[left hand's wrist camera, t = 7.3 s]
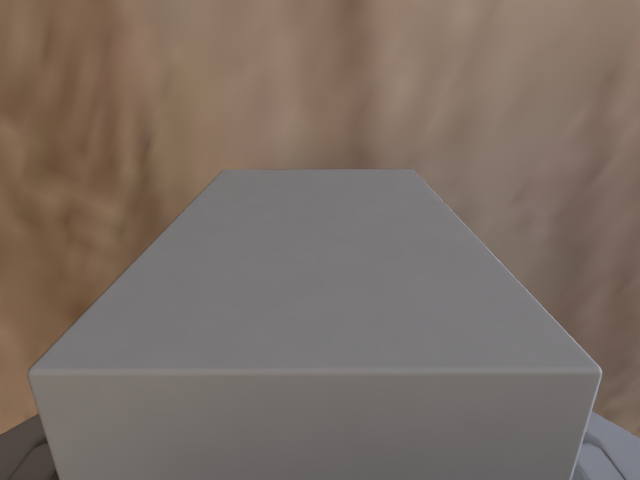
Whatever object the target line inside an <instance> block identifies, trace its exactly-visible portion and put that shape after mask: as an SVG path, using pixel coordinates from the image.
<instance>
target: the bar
mask: <svg viewBox="0 0 640 480" xmlns="http://www.w3.org/2000/svg"><path fill="white" fill-rule="evenodd" d="M27 377H28V380H29V384H30V387H31V390H32V393H33V396H34V400H35V403H36V406H37V409H38V412H39V416H40V419H41V422H42V425H43V428H44V432H45V435H46V438H47V441H48V445H49V448H50V451H51V454H52V457H53V461H54V464H55V467H56V470H57V473H58V477H59V480H571V479H572V476H573V472H574V469H575V466H576V462H577V459H578V455H579V452H580V449H581V445H582V442H583V439H584V435H585V432H586V428H587V425H588V422H589V418H590V415H591V411H592V408H593V405H594V401H595V398H596V394H597V391H598V388H599V384H600V381H601V378H602V370H601V368H600V367H599V365H598V364H597V363H596V362H595V361H594V360H593V359H592V358H591V357H590V356H589V355H588V354H587V353H586V352H585V351H584V350H583V349H582V348H581V346H580V345H579V344H578V343H577V342H576V341H575V340H574V339H573V338H572V337H571V336H570V335H569V334H568V333H567V332H566V331H565V330H564V329H563V327H562V326H561V325H560V324H559V323H558V322H557V321H556V320H555V319H554V318H553V317H552V316H551V315H550V314H549V313H548V312H547V311H546V309H545V308H544V307H543V306H542V305H541V304H540V303H539V302H538V301H537V300H536V299H535V298H534V297H533V296H532V295H531V294H530V293H529V292H528V290H527V289H526V288H525V287H524V286H523V285H522V284H521V283H520V282H519V281H518V280H517V279H516V278H515V277H514V276H513V275H512V274H511V272H510V271H509V270H508V269H507V268H506V267H505V266H504V265H503V264H502V263H501V262H500V261H499V260H498V259H497V258H496V257H495V256H494V255H493V253H492V252H491V251H490V250H489V249H488V248H487V247H486V246H485V245H484V244H483V243H482V242H481V241H480V240H479V239H478V238H477V237H476V236H475V234H474V233H473V232H472V231H471V230H470V229H469V228H468V227H467V226H466V225H465V224H464V223H463V222H462V221H461V220H460V219H459V218H458V216H457V215H456V214H455V213H454V212H453V211H452V210H451V209H450V208H449V207H448V206H447V205H446V204H445V203H444V202H443V201H442V200H441V199H440V197H439V196H438V195H437V194H436V193H435V192H434V191H433V190H432V189H431V188H430V187H429V186H428V185H427V184H426V183H425V182H424V181H423V179H422V178H421V177H420V176H419V175H418V174H417V173H416V172H415V171H414V170H412V169H305V170H222V172H221V173H220V174H219V175H218V176H217V177H216V178H215V179H214V180H213V181H212V182H211V183H210V184H209V185H208V186H207V187H206V188H205V189H204V190H203V191H202V192H201V193H200V194H199V195H198V196H197V197H196V198H195V199H194V200H193V201H192V202H191V203H190V204H189V205H188V206H187V207H186V208H185V209H184V210H183V211H182V212H181V214H180V215H179V216H178V217H177V218H176V219H175V220H174V221H173V222H172V223H171V224H170V225H169V226H168V227H167V228H166V229H165V230H164V231H163V232H162V233H161V234H160V235H159V236H158V237H157V238H156V239H155V240H154V241H153V242H152V243H151V244H150V245H149V246H148V247H147V248H146V249H145V250H144V251H143V252H142V253H141V255H140V256H139V257H138V258H137V259H136V260H135V261H134V262H133V263H132V264H131V265H130V266H129V267H128V268H127V269H126V270H125V271H124V272H123V273H122V274H121V275H120V276H119V277H118V278H117V279H116V280H115V281H114V282H113V283H112V284H111V285H110V286H109V287H108V288H107V289H106V290H105V291H104V292H103V293H102V294H101V296H100V297H99V298H98V299H97V300H96V301H95V302H94V303H93V304H92V305H91V306H90V307H89V308H88V309H87V310H86V311H85V312H84V313H83V314H82V315H81V316H80V317H79V318H78V319H77V320H76V321H75V322H74V323H73V324H72V325H71V326H70V327H69V328H68V329H67V330H66V331H65V332H64V333H63V334H62V335H61V336H60V338H59V339H58V340H57V341H56V342H55V343H54V344H53V345H52V346H51V347H50V348H49V349H48V350H47V351H46V352H45V353H44V354H43V355H42V356H41V357H40V358H39V359H38V360H37V361H36V362H35V363H34V364H33V365H32V366H31V367H30V368H29V370H28V372H27Z"/></svg>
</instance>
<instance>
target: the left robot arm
mask: <svg viewBox="0 0 640 480" xmlns="http://www.w3.org/2000/svg"><path fill="white" fill-rule="evenodd" d="M0 480H59V477H58V473H57V470H56V467H55V464H54V461H53V457H52V454H51V451H50V448H49V445H48V441H47V438H46V435H45V432H44V428H43V425H42V422H41V419H40V416H39V414H37V415H35V416H33V417H32V418H30V419H28V420H26V421H25V422H23V423H21V424H19V425H17V426H16V427H14V428H12V429H10V430H8V431H7V432H5V433H3V434H1V435H0ZM571 480H640V438H638V437H636V436H635V435H633V434H631V433H629V432H627V431H626V430H624V429H622V428H620V427H619V426H617V425H615V424H613V423H612V422H610V421H608V420H606V419H605V418H603V417H601V416H599V415H597V414H596V413H594V412H592V411H591V415H590V418H589V422H588V425H587V428H586V432H585V435H584V439H583V442H582V445H581V449H580V452H579V455H578V459H577V462H576V466H575V469H574V472H573V476H572V479H571Z"/></svg>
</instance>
